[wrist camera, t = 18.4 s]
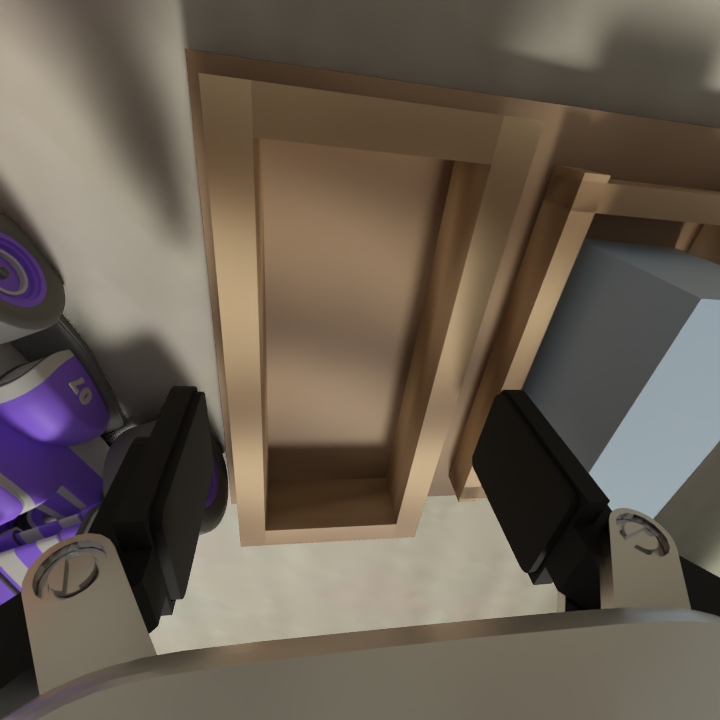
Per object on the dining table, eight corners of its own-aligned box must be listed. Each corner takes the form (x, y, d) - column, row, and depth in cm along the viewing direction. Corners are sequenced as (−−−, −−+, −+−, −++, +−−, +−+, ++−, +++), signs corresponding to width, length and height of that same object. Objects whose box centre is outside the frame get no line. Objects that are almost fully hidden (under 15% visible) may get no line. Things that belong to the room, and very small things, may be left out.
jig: (194, 53, 10) (152, 33, 7) (756, 136, 13) (885, 145, 10) (234, 486, 19) (223, 554, 16) (561, 476, 22) (600, 532, 19)
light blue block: (576, 237, 13) (701, 298, 9) (674, 247, 14) (832, 308, 10) (487, 447, 19) (541, 546, 14) (562, 447, 19) (633, 541, 15)
